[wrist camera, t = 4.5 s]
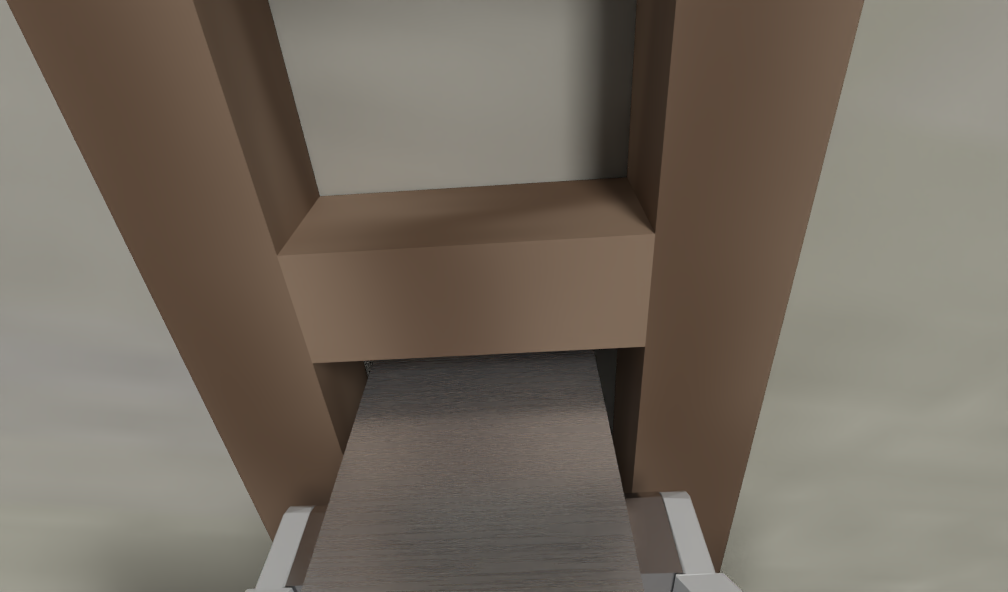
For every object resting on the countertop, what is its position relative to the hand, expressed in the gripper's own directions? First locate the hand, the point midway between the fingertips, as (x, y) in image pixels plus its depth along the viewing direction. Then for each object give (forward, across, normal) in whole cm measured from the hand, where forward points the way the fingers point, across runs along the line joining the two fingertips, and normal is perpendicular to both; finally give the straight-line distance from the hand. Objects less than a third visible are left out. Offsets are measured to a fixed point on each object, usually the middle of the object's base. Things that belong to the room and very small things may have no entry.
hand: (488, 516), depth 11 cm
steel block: (+4, 0, 0) cm, 4 cm away
